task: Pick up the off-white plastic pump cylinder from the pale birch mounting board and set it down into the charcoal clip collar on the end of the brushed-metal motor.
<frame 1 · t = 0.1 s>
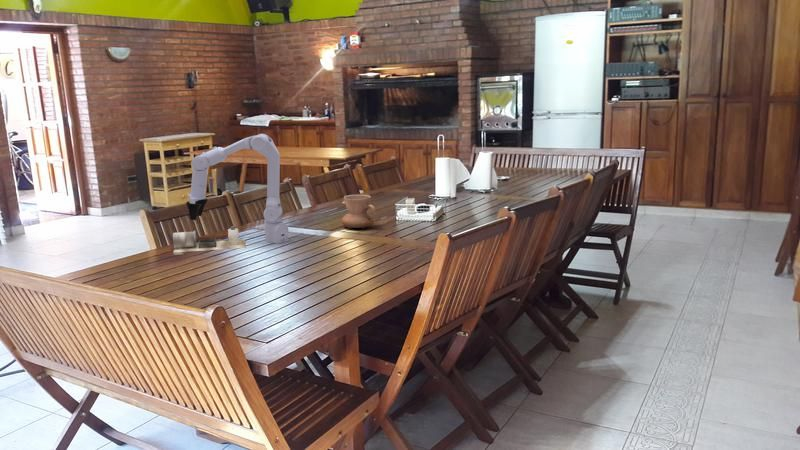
hand: (195, 217, 257), 11 cm above the table, fingers open, 7 cm apart
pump: (233, 244, 254), point 1 cm above the table, touching motor mount
motor mount: (213, 247, 252), on the table
ceramic jug: (358, 228, 287), on the table
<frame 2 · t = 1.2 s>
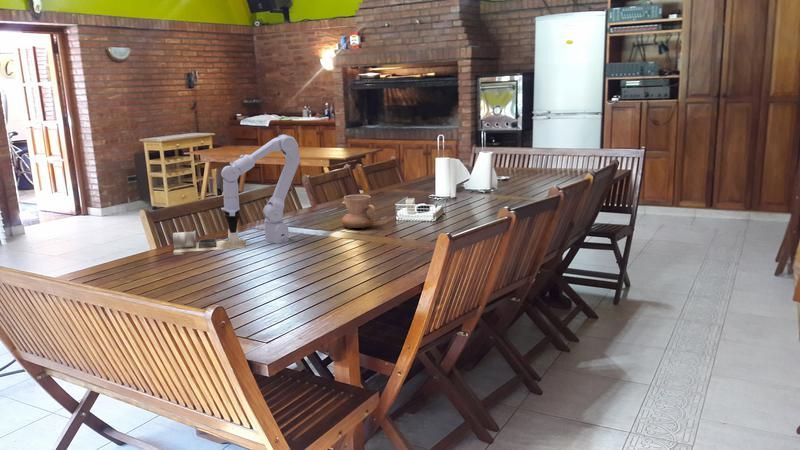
hand: (232, 230, 252), 7 cm above the table, fingers open, 7 cm apart
nothing on the table moved.
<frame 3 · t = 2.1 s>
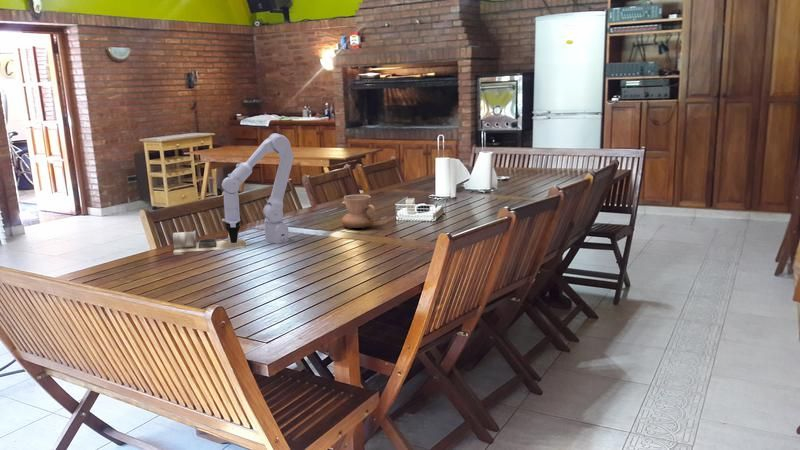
hand: (233, 241, 253), 2 cm above the table, fingers closed on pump, 4 cm apart
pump: (233, 244, 254), point 1 cm above the table, touching gripper, motor mount
everything else where it was.
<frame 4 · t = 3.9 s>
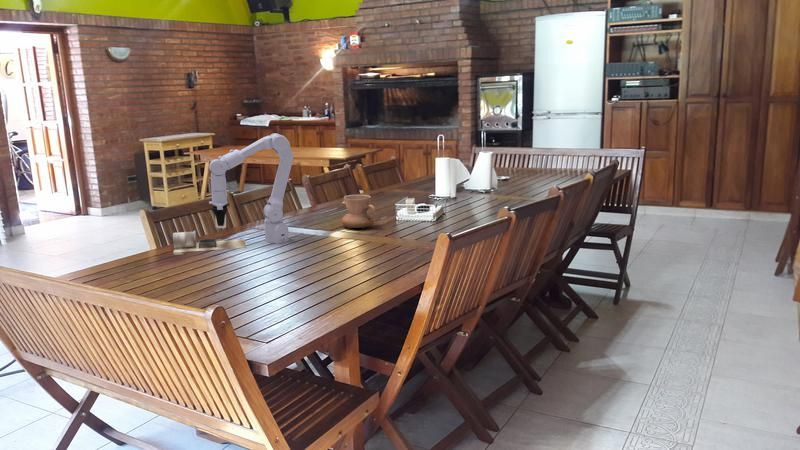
hand: (220, 224, 251), 9 cm above the table, fingers closed on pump, 4 cm apart
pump: (221, 227, 251), point 8 cm above the table, touching gripper
everything else where it was.
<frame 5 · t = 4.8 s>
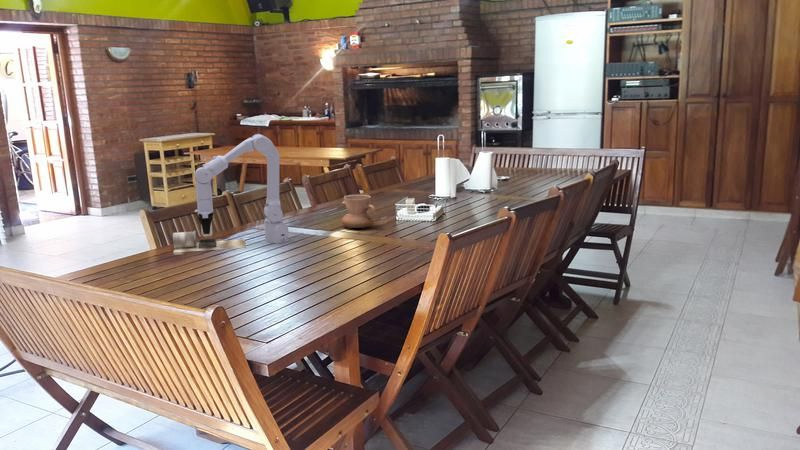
hand: (206, 232, 250), 6 cm above the table, fingers closed on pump, 4 cm apart
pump: (207, 235, 250), point 5 cm above the table, touching gripper
everything else where it was.
when the fingers open (4 cm above the table, at t = 5.6 s): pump drops 2 cm, resting on motor mount.
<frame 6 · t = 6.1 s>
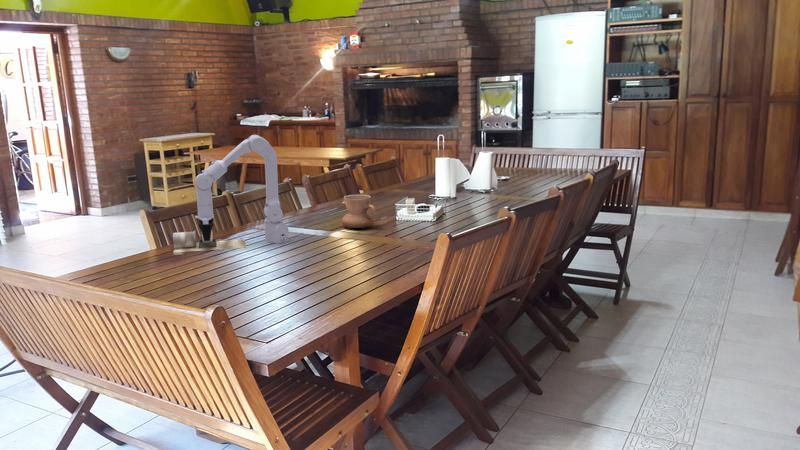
hand: (207, 238, 250), 4 cm above the table, fingers open, 7 cm apart
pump: (207, 245, 251), point 1 cm above the table, touching motor mount
everything else where it was.
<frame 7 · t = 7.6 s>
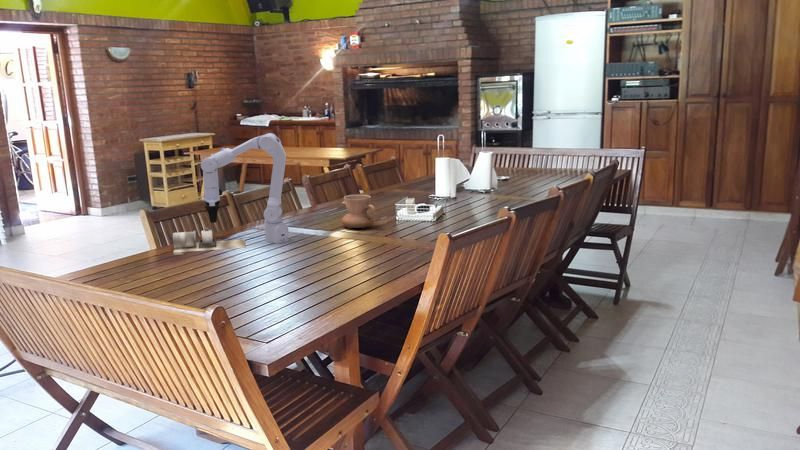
hand: (213, 220, 257), 9 cm above the table, fingers open, 7 cm apart
nothing on the table moved.
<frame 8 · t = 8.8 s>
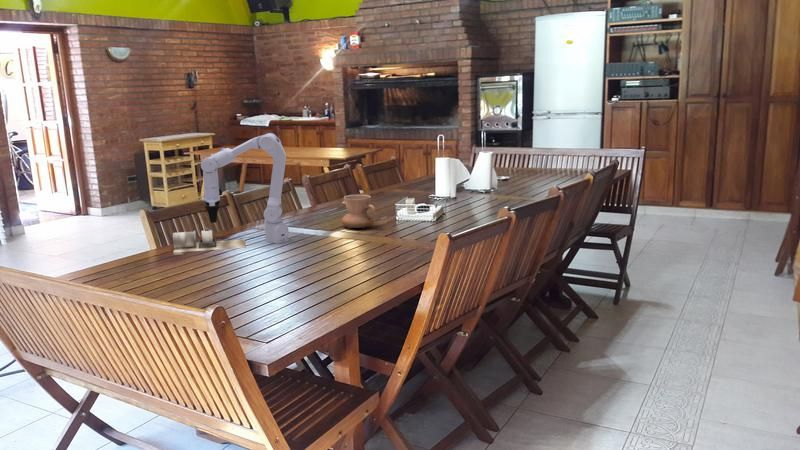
hand: (213, 220, 257), 9 cm above the table, fingers open, 7 cm apart
nothing on the table moved.
at the end: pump 0.1 cm from the target spot, point 1.0 cm above the table; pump tilted 1°; the gripper is holding nothing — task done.
